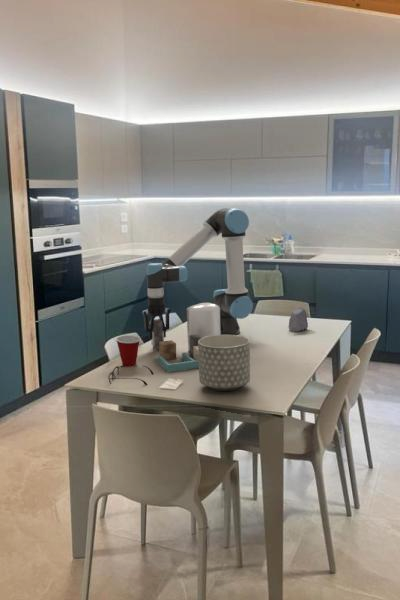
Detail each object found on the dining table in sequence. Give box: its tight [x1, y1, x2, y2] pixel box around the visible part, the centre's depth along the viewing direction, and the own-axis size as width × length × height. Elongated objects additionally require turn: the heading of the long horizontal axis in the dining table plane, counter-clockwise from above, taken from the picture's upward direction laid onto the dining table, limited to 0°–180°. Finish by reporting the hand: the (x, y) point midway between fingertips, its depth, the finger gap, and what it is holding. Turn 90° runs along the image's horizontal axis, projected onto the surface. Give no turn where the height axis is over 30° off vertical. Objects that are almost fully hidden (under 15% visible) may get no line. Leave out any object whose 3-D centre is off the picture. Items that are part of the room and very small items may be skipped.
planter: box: [198, 334, 251, 392], centre depth 213 cm, size 19×19×18 cm
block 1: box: [152, 318, 177, 361], centre depth 262 cm, size 6×22×14 cm, turn 20°
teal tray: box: [157, 352, 199, 373], centre depth 246 cm, size 24×15×3 cm, turn 110°
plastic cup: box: [115, 335, 142, 367], centre depth 246 cm, size 11×11×12 cm
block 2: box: [189, 334, 201, 360], centre depth 250 cm, size 6×14×10 cm, turn 20°
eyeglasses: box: [107, 365, 155, 386], centre depth 227 cm, size 16×16×4 cm
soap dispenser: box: [186, 302, 221, 352], centre depth 267 cm, size 15×14×22 cm
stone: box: [288, 308, 309, 332], centre depth 301 cm, size 12×10×10 cm
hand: (157, 344), depth 271 cm, fingers closed on block 1, 4 cm apart
